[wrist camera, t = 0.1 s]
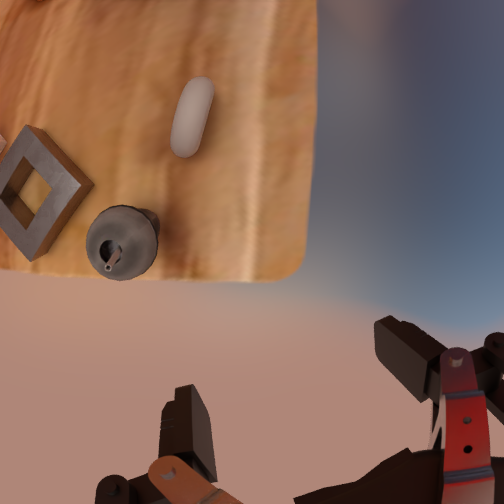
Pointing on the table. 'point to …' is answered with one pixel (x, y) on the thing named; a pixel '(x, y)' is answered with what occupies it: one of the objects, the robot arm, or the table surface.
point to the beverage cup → (123, 242)
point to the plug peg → (2, 143)
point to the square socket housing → (57, 202)
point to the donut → (191, 116)
